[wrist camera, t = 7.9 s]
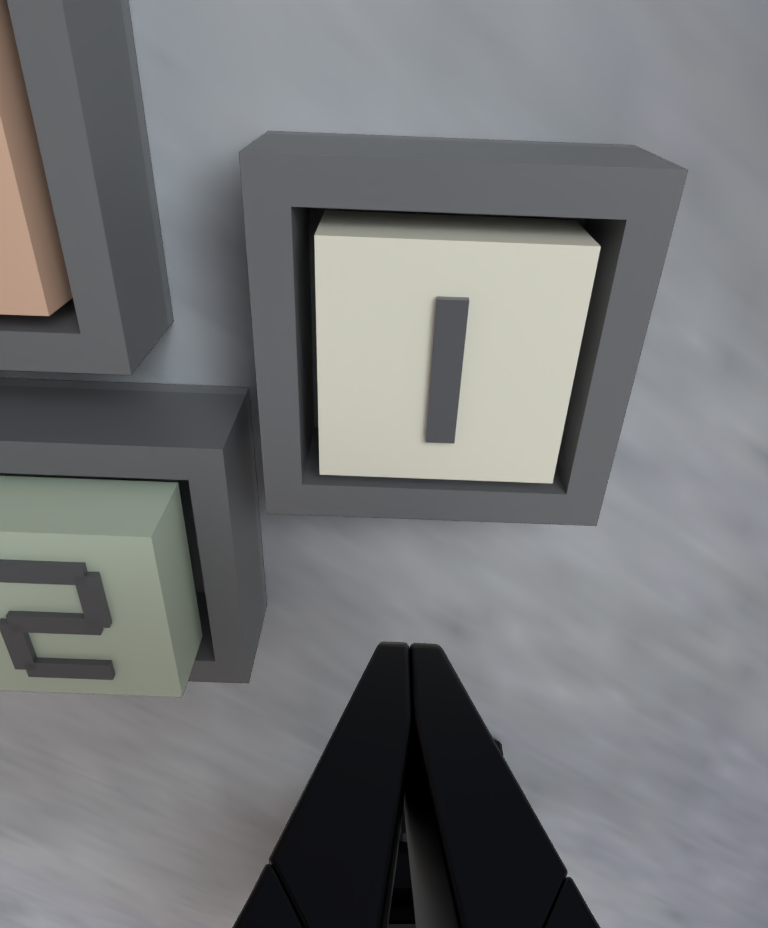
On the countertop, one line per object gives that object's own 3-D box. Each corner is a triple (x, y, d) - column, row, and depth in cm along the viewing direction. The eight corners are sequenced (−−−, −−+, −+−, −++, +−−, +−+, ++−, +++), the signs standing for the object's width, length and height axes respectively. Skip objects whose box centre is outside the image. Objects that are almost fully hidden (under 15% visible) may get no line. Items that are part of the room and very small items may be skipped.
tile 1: (536, 436, 19) (554, 487, 17) (327, 428, 19) (318, 478, 17) (575, 220, 16) (603, 249, 14) (325, 210, 16) (313, 237, 14)
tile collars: (534, 615, 25) (553, 694, 22) (-28, 593, 25) (-87, 670, 22) (678, -60, 14) (753, -87, 11) (-307, -100, 14) (-498, -138, 11)
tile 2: (202, 635, 22) (180, 703, 20) (17, 628, 22) (-26, 695, 20) (178, 482, 18) (148, 542, 16) (-40, 474, 18) (-99, 532, 16)
